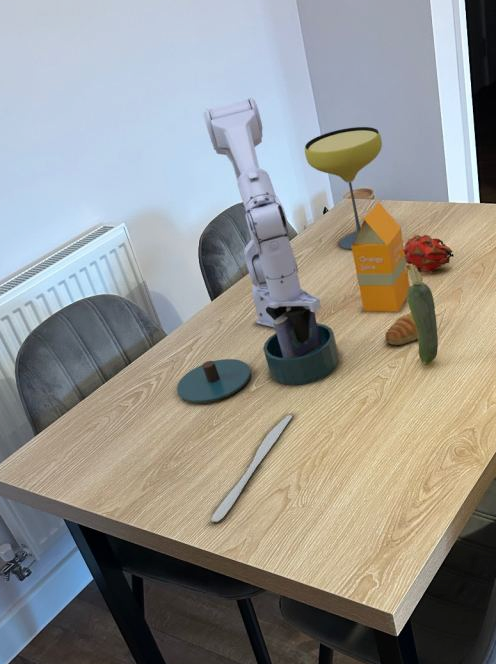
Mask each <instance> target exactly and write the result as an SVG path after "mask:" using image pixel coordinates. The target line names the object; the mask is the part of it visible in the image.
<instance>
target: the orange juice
mask: <svg viewBox="0 0 496 664" xmlns="http://www.w3.org/2000/svg"><path fill="white" fill-rule="evenodd" d="M360 227H361V228H360V230H359V232H358V234H357V236H356V239H355V241H354V243H353V245H352V246H351V247H352V249H351V251H352V252H351V253H352V256H353V261H354V266H355V271H356V277H357V278H356V279H357V283H358V287H359V292H360V298H361V301H362V307H363V311H364V312H392V313H393V312H394V313H395V312H396V313H397V312H399V310H400V309H401V308H402V306H403V304H404V302H405V301H407V292H408V289H409V288H410V286H411V285H410V279H409V274H408V273H409V272H407V273H406V272H405V270H404V269H405V266H406V265H407V263H406V258H405V256H406V255H405V253H404V249H405V246H404V242H403V235H402V234H403V233H402V227H401V226H400V225H399V223H398V222H397V221H396V220H395V219H394V218H393V217H392V216H391V215H390V213H389V212H388V211H387V210H386V209H385V207H384V206H383V205H382V204H381V203H380V202H379V201H378V202H377V203H376V204H375V205H374V206H373V208H372V209H371V210H370V211H369V212H368V213H367V215H366V216H365V217H364V218H363V221H362V224H361V225H360Z"/></svg>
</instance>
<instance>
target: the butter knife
mask: <svg viewBox="0 0 496 664" xmlns="http://www.w3.org/2000/svg"><path fill="white" fill-rule="evenodd" d="M292 418H293V415H292V414H289V415H286V416H285V417H284V418H283V419H282V420H281V421H280V422H278V423H277V425H275V426H274V427H273V428H272V429H271V430H270V431H269V432H268V433H267V435H266V436H265V437H264V439H263V441H262V443H261V444H260V446H259V447H258V449H257V450H256V452H255V455H254V457H253V460H252V461H251V462H250V465H249V466H248V468H247V470H246V472H245V473H244V475H243V476H241V478H240V480H239V481H238V482H237V483H236V485H235V486H234V487H233V488H232V489H231V490H230V492H228V494H227V496H226V497H225V498H224V499H223V500H222V502H221V503H220V505H219V506H218V507H217V508H216V510H215V512H214V513H213V514H212V516H211V522H212V523H218V522H220V521H221V520H222V519H223V518H224V517H225V516H226V515H227V513H228V512H229V511H230V509H231V508H232V506H233V505H234V504H235V502H236V500H237V499H238V497H239V496H240V494H241V492H242V491H243V489H244V488H245V486H246V485H247V482H248V481H249V479H250V478H251V476H252V474H253V473H254V472H255V470H256V469H257V467H258V466H259V464H260V463H261V462H262V460H263V459H264V457H265V456H266V455H267V453H268V452H269V451H270V449H271V448H272V447H273V445H274V444H275V443H276V442H277V440H278V438H279V437H280V435H281V433H282V432H283V431H284V429H285V428H286V426H287V425H288V423H289V422H290V421H291V419H292Z"/></svg>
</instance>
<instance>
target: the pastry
mask: <svg viewBox="0 0 496 664" xmlns="http://www.w3.org/2000/svg"><path fill="white" fill-rule="evenodd" d="M384 335H385V343H388V344H390V345H396V346H398V345H400V346H402V345H406V344H407V343H412V342H413V341H416V340H418V331H417V327H416V324H415V322H414V320H413V317H412V314H411V311H410V312H409V313H407V314H405V315H402V316H399V317H398V318H397V319H396V321H394V323H393V324H392V325H391V326H390V327H389V328H388V329H387V331H386V332H385V334H384Z"/></svg>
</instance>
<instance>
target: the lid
mask: <svg viewBox="0 0 496 664" xmlns="http://www.w3.org/2000/svg"><path fill="white" fill-rule="evenodd" d="M251 373H252V372H251V367H250V366H249V364H247V363H246V362H244V361H243V360H240V359H234V358H223V359H217V360H208V361H204V363H202V364H201V365H199V366H196V367H194V368H193V369H191V370H190V371H188V372H187V373H186V374H185V375H184V376H183V377H181V379H180V380H179V381H178V384H177V386H176V392H177V394H178V396H179V397H180V398H181V399H182V400H184V401H185V402H189V403H197V404H199V403H202V404H203V403H210V402H214V401H218V400H221V399H225V398H227V397H229V396H232V395H233V394H234V393H237V392H238V391H239V390H240V389H242V388H243V387H244V386H245V385H246V384H247V383H248V381H249V380H250V378H251Z"/></svg>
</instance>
